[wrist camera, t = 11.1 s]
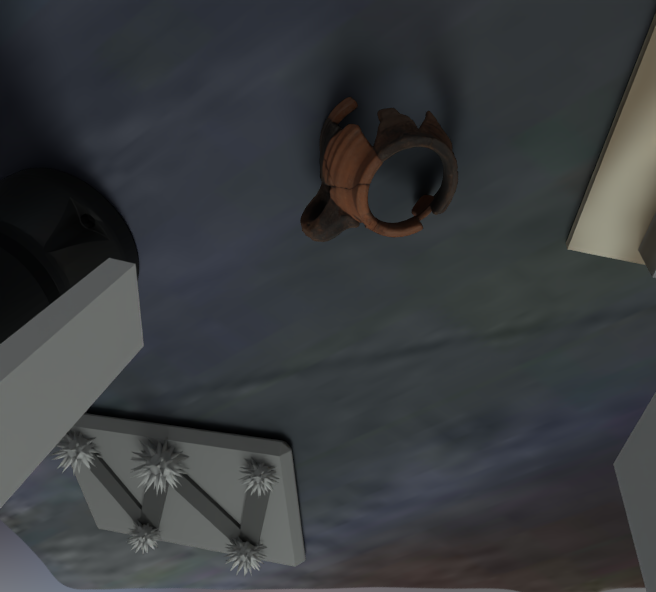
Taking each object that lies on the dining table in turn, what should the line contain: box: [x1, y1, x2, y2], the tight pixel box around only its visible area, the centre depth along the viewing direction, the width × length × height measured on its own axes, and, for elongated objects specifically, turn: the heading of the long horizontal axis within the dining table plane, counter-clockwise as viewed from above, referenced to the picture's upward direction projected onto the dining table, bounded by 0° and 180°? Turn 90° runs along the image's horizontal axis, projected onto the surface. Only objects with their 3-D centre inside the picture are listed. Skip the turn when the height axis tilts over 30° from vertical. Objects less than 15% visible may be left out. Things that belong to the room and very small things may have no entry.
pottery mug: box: [301, 97, 458, 242], centre depth 39 cm, size 12×10×8 cm
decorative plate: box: [49, 413, 306, 576], centre depth 65 cm, size 30×22×7 cm
